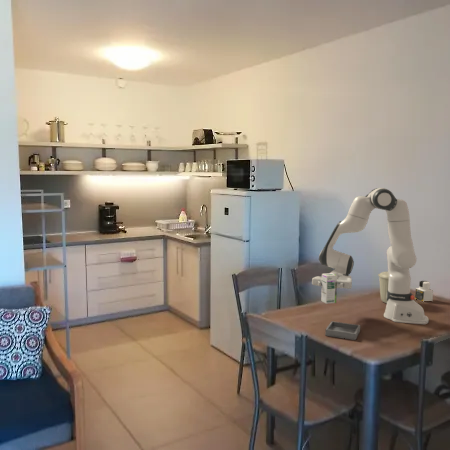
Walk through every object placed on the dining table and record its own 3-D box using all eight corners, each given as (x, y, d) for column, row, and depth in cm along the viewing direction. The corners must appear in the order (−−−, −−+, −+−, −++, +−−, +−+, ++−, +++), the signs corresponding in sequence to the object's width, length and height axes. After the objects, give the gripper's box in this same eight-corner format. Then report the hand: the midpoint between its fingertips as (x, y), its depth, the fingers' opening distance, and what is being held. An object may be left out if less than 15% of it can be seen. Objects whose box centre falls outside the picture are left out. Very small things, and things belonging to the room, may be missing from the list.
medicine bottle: (414, 299, 288) (416, 280, 286) (424, 298, 290) (425, 279, 289) (423, 302, 281) (424, 283, 280) (432, 301, 283) (433, 282, 282)
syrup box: (326, 304, 232) (327, 275, 230) (320, 300, 238) (321, 273, 236) (336, 303, 234) (337, 275, 232) (330, 300, 239) (332, 272, 237)
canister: (383, 297, 292) (384, 264, 290) (412, 302, 281) (414, 268, 279) (372, 302, 279) (373, 268, 276) (402, 308, 267) (404, 272, 265)
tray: (360, 331, 228) (360, 325, 227) (355, 340, 215) (355, 333, 215) (331, 326, 234) (331, 321, 233) (325, 335, 221) (325, 329, 221)
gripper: (315, 272, 250) (308, 277, 238) (354, 276, 242) (349, 281, 229) (315, 283, 251) (308, 289, 239) (353, 287, 242) (348, 294, 230)
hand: (328, 285), depth 234 cm, fingers closed on syrup box, 8 cm apart
